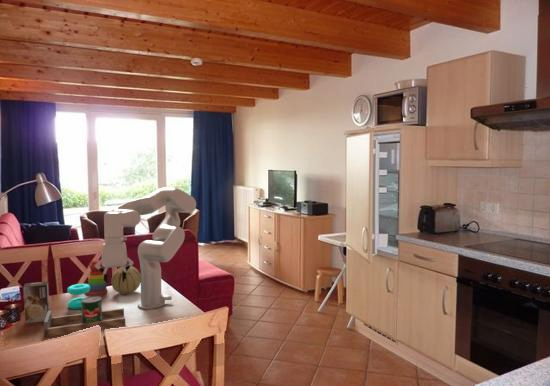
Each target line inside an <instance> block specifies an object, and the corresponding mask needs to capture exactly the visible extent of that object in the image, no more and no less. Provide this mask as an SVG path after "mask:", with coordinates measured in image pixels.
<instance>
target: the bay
mask: <svg viewBox="0 0 550 386" xmlns="http://www.w3.org/2000/svg"><path fill="white" fill-rule="evenodd" d="M124 316H125V308H117V309H109V310H102V321H96V322H89V323H82V313H76V314H75V313H74V314H68V315H62V316H61V315H60V316H54V317H53V316H52V310H50V311H48V313H47V315H46V318H45V321H43V327H44V329H43V330H44V331H43V332H44V337H45V338H49V337H55V336H62V335H67V334H73V333H72V332H76V331H79V330H83V329H86V328H90V327H93V326H96V325H99V326H100V327H101V328H102V329H103V330H104V329H110V328H111V329H112V328H117V327H123V326H126V317H124ZM116 317H120V318H116ZM110 318H111V319H110ZM112 318H113V319H112ZM103 319H104V320H103ZM80 322H81V323H80ZM71 323H72V324H71ZM73 323H74V324H73ZM75 323H76V324H75ZM64 324H67V325H64ZM58 325H61V326H58ZM52 326H53V327H52ZM102 329H101V330H102ZM76 333H77V332H76Z"/></svg>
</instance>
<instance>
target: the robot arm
mask: <svg viewBox="0 0 550 386" xmlns="http://www.w3.org/2000/svg"><path fill="white" fill-rule="evenodd" d="M163 207H165V215H164V216H165V217H164V218H163V220H162V221H161V222H160V223H159V225H158V226H157V227H156V229H155V230H154V232H153V233H152V239H146V240H143V241H142V242H141V243H139V245H138V247H137V255H138V260H139V266H140V268H139V269H140V270H139V271H140V275H141V283H140V301H139V302H138V303H137V307H138V308H140V309H141V310H155V308H156V309H158V308H159V309H160V308H161V306H162V307H164V306H165V305H166V301H170V300H172V295H168V294H166V295H163V294H162V267H161V263H168V262H170V261H171V260H172V259H173V258H174V256H175V255H176V253H177V252H178V251H179V249H180V248H181V246H182V245H183V243H184V241H185V236H186V235H185V230H184V229H183V228H182V227H180V225H181V219H180V216H179V213H189V214H190V213H193V212H194V211H195V209H196V207H197V201H196V199H195V198H194V196H192V195H190V194H189V193H187V192H186V191H184V190H182V189H180V188H177V187H160V188H157V189H156V190H155V191H153V192H151V193H149V194H148V195H145V196H143V197H140V198H138V199H135V200H131V201H127V202H125V203H122V204H120V205H118V206H117V207H114V209H112V210H111V211H107V212H105V213H104V215H103V226H104V229H103V231H104V236H103V237H104V243H102V246H101V259H100V261H99V262H98V263H97V264H96V265H95V267H96V268H97V269H98V270H99V271H101V272H102V273H103V274H104V281H106V283H107V284H108V283H109V282H108V272H107V271H108V269H109V268H117V267H118V268H120V267H122V269H123V271H122V281H123V282H124V279H126V271H127V270H128V269H129V268H130V267H131V266H132V267H133V265H134V261H133V260H132V259H130V257H128V254H127V253H128V251H127V245H126V242H125V241H127V240H128V237H127V236H124V228H134V227H136V226H137V225H139V223H140V222H141V220H142V219H141V217H142V216H145V215H146V216H147V215H151V214H153V213H155V212H157V211H159V210H160V209H162V208H163ZM101 263H102V266H103V267H104V269H103V268H102V267H100V264H101ZM125 266H126V267H125ZM164 304H165V305H164ZM163 305H164V306H163Z"/></svg>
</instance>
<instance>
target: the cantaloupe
mask: <svg viewBox="0 0 550 386" xmlns="http://www.w3.org/2000/svg"><path fill="white" fill-rule="evenodd" d="M126 266H127V265H125V267H126ZM122 271H123V269H122V267H118V268H117V269H116V270H115V271H114V272H113V274H112V277H111V280H110V281H111V282H110V283H111V286H112V288H113V290H114V291H115V292H116V293H118V294H121V295H128V294H133V293H134V292H135V291H137V290H138V289H139V287H140V286H141V272H140V270H139V269H137V268H136V267H135V266H133V265H132V266H131V267H130V268H129V269H128V270H127V271H126V279H124V282H123V281H122Z"/></svg>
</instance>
